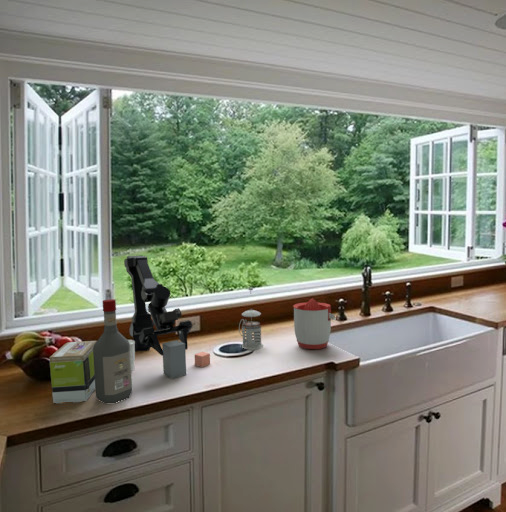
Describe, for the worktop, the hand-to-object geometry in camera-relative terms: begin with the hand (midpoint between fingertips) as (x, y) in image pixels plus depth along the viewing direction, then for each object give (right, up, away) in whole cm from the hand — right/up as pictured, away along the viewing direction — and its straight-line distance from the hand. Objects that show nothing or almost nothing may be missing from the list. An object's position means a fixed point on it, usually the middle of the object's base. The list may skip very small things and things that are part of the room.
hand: (174, 351), depth 144 cm
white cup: (-19, -8, +7) cm, 22 cm away
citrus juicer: (+53, -5, +30) cm, 61 cm away
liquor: (-15, -10, -16) cm, 25 cm away
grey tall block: (0, -8, +1) cm, 8 cm away
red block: (+8, -7, +11) cm, 15 cm away
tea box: (-28, -10, -13) cm, 33 cm away
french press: (+26, -5, +31) cm, 41 cm away
